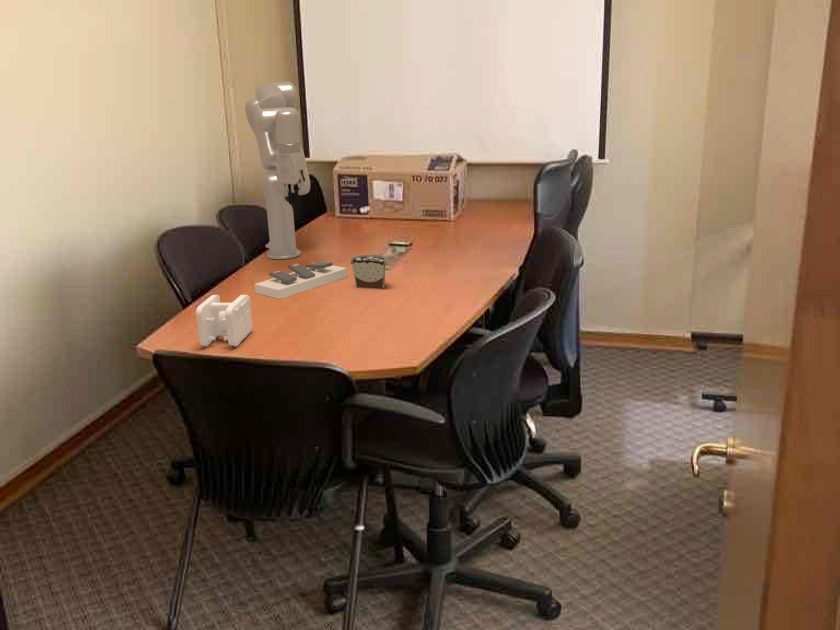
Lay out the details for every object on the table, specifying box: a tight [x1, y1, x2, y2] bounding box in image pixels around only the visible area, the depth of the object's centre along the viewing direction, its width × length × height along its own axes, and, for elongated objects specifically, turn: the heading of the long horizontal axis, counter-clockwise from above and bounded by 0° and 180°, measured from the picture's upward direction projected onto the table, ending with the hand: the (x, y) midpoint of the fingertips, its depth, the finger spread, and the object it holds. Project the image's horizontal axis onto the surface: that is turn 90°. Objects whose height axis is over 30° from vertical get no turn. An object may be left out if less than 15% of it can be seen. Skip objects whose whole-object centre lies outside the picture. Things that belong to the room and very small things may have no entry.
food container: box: [350, 253, 388, 291], centre depth 283 cm, size 12×6×10 cm, turn 71°
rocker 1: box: [268, 269, 297, 283], centre depth 283 cm, size 9×4×1 cm, turn 49°
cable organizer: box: [195, 294, 253, 348], centre depth 240 cm, size 15×11×12 cm
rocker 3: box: [305, 261, 334, 268], centre depth 294 cm, size 9×4×1 cm, turn 49°
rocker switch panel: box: [254, 264, 348, 300], centre depth 289 cm, size 12×30×4 cm, turn 139°
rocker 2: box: [287, 261, 315, 279], centre depth 288 cm, size 9×4×1 cm, turn 50°
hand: (294, 203), depth 292 cm, fingers closed
